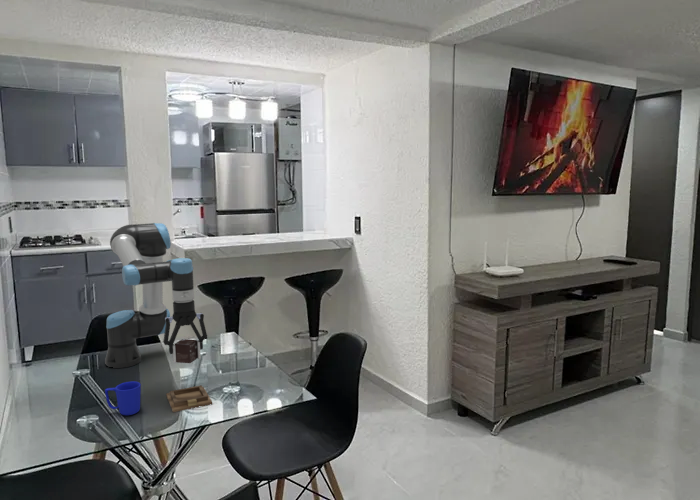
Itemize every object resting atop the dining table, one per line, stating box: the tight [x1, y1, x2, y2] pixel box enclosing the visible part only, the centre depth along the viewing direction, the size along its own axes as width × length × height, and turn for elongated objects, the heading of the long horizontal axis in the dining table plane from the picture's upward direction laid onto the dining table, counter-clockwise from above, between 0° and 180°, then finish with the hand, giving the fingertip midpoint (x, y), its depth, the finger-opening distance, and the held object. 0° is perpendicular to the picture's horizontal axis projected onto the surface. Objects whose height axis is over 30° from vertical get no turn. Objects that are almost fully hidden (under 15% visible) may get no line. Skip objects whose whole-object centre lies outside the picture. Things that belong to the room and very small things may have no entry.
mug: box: [104, 380, 142, 416], centre depth 184 cm, size 8×12×10 cm
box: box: [174, 338, 198, 364], centre depth 192 cm, size 6×6×7 cm
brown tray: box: [165, 385, 213, 413], centre depth 195 cm, size 16×14×2 cm
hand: (186, 359), depth 193 cm, fingers closed on box, 8 cm apart
